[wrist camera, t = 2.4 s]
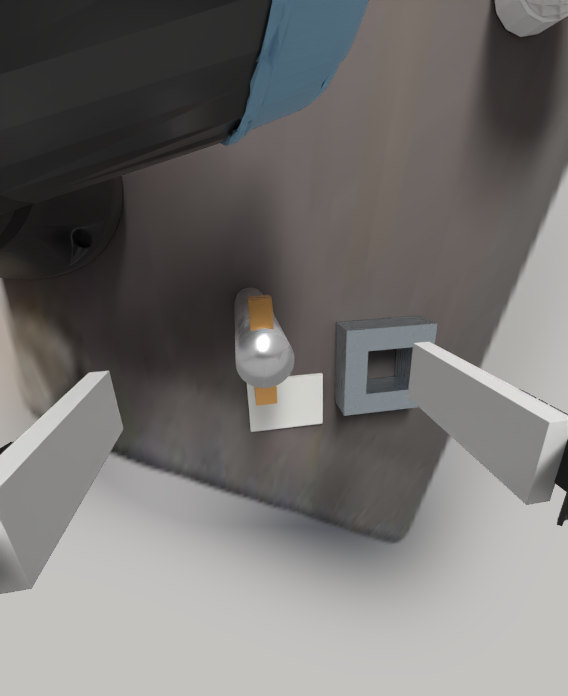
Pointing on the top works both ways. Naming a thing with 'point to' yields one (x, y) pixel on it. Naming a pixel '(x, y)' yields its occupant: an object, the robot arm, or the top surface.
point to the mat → (289, 404)
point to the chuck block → (353, 361)
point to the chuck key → (260, 345)
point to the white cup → (530, 15)
